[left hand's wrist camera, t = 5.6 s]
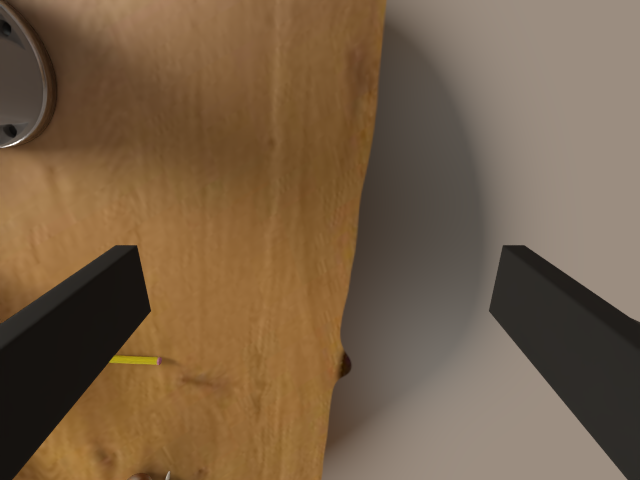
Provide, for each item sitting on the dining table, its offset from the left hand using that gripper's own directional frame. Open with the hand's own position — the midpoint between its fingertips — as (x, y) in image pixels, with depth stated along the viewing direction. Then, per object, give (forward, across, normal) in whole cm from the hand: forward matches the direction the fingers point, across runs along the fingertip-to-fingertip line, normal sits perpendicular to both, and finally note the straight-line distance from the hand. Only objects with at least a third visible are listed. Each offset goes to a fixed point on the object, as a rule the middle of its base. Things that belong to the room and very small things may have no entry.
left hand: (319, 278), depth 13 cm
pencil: (+28, +31, +27) cm, 50 cm away
